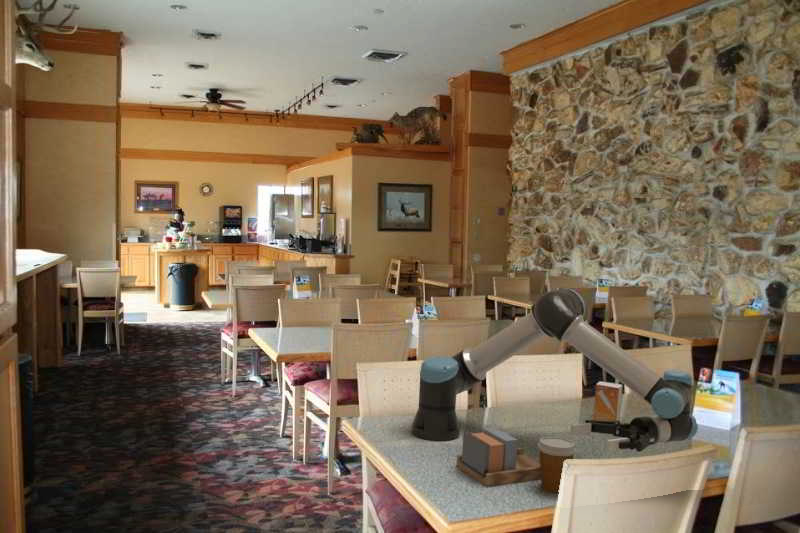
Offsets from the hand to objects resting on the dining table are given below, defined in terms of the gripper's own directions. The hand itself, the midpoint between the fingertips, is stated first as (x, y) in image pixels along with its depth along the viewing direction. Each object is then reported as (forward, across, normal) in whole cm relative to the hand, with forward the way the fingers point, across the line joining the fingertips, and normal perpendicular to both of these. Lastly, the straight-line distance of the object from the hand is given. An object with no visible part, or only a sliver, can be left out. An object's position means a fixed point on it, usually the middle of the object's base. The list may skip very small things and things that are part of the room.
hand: (588, 437), depth 174 cm
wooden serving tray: (+15, +15, -12) cm, 24 cm away
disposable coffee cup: (+10, +1, -12) cm, 16 cm away
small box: (-49, +45, -12) cm, 68 cm away
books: (+20, +14, -11) cm, 27 cm away
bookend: (+26, +14, -10) cm, 31 cm away
